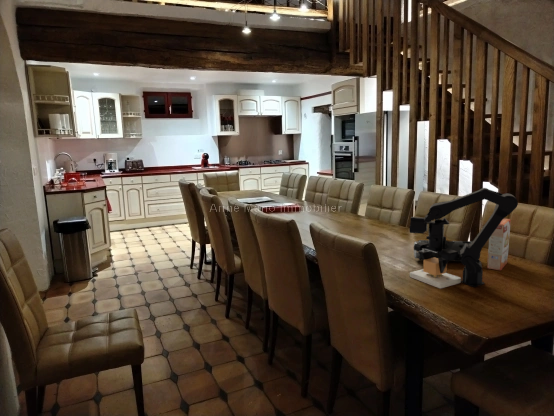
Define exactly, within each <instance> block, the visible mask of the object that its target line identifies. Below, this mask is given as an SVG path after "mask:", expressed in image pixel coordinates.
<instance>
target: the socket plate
mask: <svg viewBox="0 0 554 416" xmlns="http://www.w3.org/2000/svg"><path fill="white" fill-rule="evenodd" d="M409 278H412V279H415V280H417V281H420V282H422V283H425V284H427V285H430V286H432V287H435V288H437V289H444V288H447V287H450V286H455V285H458V284H460V283H461V281H462V277H460V276H458V275H454V274H451V273H448V272H447V273H444V274H442V276H441V277H439V275H436V278H434V277H433V276H431V274H430V273H427V272H424V271H423V268H422V269H418V270H414V271H409Z"/></svg>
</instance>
